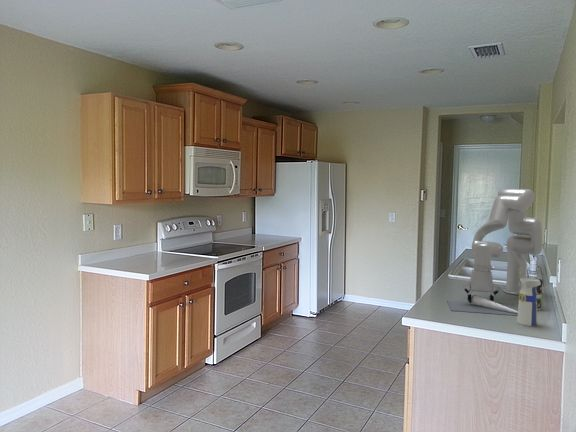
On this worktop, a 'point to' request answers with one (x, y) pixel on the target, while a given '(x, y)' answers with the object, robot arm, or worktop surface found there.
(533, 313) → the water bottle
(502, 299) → the worktop surface
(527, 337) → the worktop surface
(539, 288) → the coffee can
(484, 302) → the unicorn horn
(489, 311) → the mat
